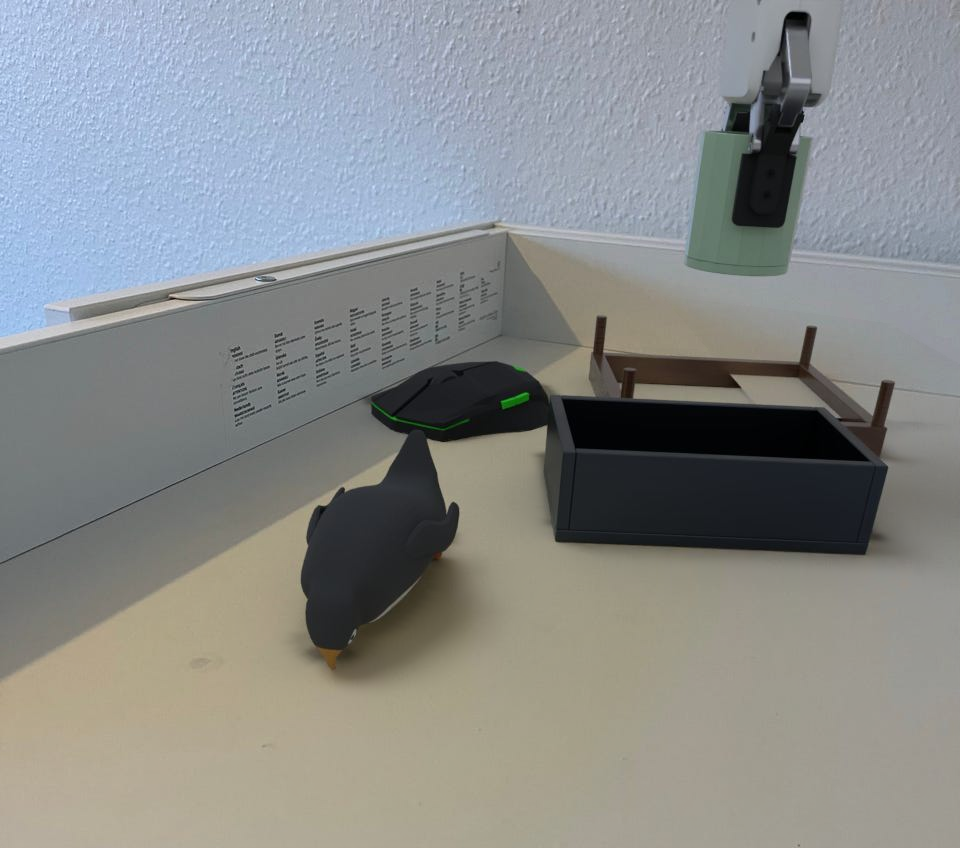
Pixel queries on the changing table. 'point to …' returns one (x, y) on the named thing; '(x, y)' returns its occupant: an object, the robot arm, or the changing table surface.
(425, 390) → the computer mouse
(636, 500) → the black open box
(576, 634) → the changing table surface
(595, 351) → the frame
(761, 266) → the cup
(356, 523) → the figurine
